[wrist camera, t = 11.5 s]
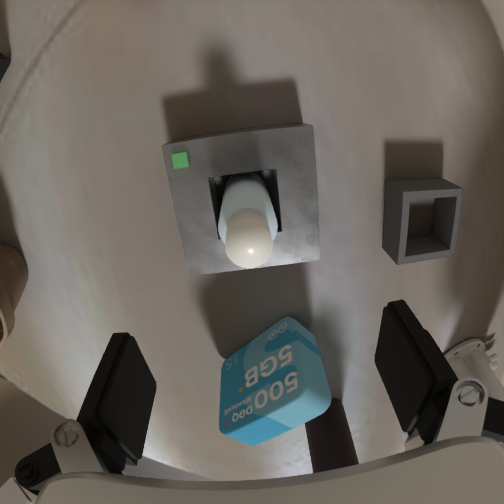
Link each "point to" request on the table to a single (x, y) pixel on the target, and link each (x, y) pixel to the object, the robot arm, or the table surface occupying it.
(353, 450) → the vinegar
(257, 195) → the plug
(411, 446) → the dixie cup
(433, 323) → the table surface
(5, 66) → the nameplate
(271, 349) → the data package
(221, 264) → the port
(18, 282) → the flower pot
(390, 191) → the grey open box
